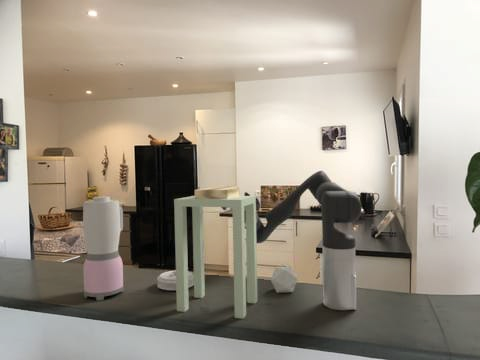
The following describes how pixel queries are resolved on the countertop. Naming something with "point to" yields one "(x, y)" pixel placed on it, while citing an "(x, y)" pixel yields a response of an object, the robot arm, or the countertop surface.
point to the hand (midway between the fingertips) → (233, 194)
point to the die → (284, 279)
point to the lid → (172, 280)
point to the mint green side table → (198, 249)
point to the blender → (102, 247)
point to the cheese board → (217, 193)
